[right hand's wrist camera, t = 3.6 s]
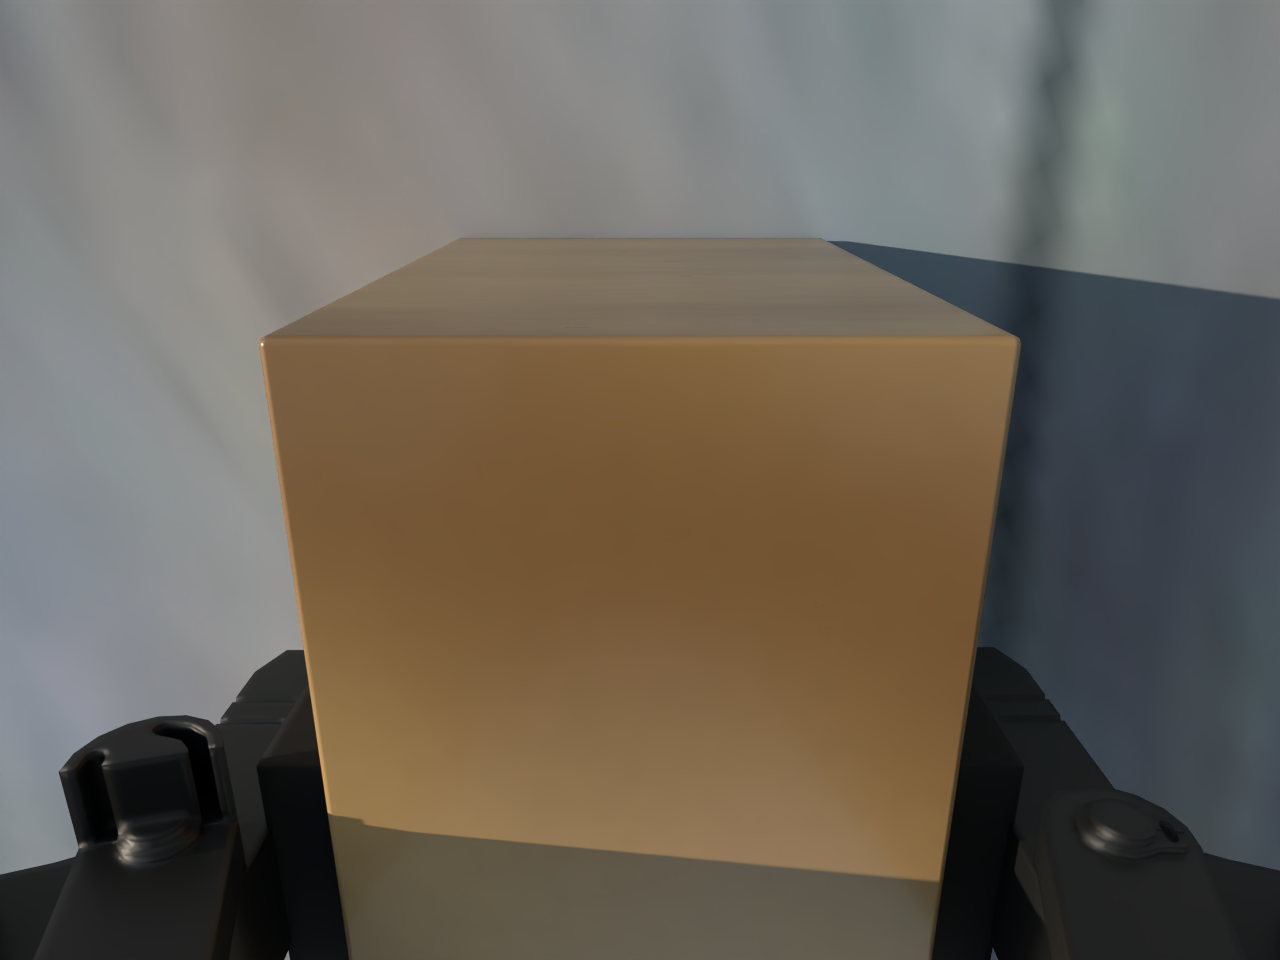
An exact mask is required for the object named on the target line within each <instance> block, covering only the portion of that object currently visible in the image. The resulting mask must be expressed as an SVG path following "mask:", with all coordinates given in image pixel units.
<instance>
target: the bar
mask: <svg viewBox="0 0 1280 960" xmlns="http://www.w3.org/2000/svg"><path fill="white" fill-rule="evenodd" d="M259 347H260V354H261V361H262V367H263V374H264V381H265V388H266V395H267V401H268V408H269V415H270V422H271V429H272V436H273V442H274V449H275V456H276V463H277V470H278V477H279V483H280V490H281V497H282V504H283V511H284V517H285V524H286V531H287V538H288V545H289V552H290V558H291V565H292V572H293V579H294V586H295V593H296V599H297V606H298V613H299V620H300V627H301V634H302V640H303V647H304V654H305V661H306V668H307V674H308V681H309V688H310V695H311V702H312V709H313V715H314V722H315V729H316V736H317V743H318V750H319V756H320V763H321V770H322V777H323V784H324V791H325V797H326V804H327V811H328V818H329V825H330V831H331V838H332V845H333V852H334V859H335V866H336V872H337V879H338V886H339V893H340V900H341V907H342V913H343V920H344V927H345V934H346V941H347V947H348V954H349V960H931V958H932V952H933V945H934V938H935V931H936V924H937V917H938V911H939V904H940V897H941V890H942V883H943V877H944V870H945V863H946V856H947V849H948V842H949V836H950V829H951V822H952V815H953V808H954V801H955V795H956V788H957V781H958V774H959V767H960V760H961V754H962V747H963V740H964V733H965V726H966V719H967V713H968V706H969V699H970V692H971V685H972V678H973V672H974V665H975V658H976V651H977V644H978V638H979V631H980V624H981V617H982V610H983V603H984V597H985V590H986V583H987V576H988V569H989V562H990V556H991V549H992V542H993V535H994V528H995V521H996V515H997V508H998V501H999V494H1000V487H1001V480H1002V474H1003V467H1004V460H1005V453H1006V446H1007V440H1008V433H1009V426H1010V419H1011V412H1012V405H1013V399H1014V392H1015V385H1016V378H1017V371H1018V364H1019V358H1020V351H1021V342H1020V338H1018V337H1016V336H1014V335H1012V334H1010V333H1008V332H1006V331H1004V330H1002V329H1000V328H998V327H996V326H994V325H992V324H990V323H988V322H986V321H984V320H982V319H980V318H978V317H976V316H974V315H973V314H971V313H969V312H967V311H965V310H963V309H961V308H959V307H957V306H955V305H953V304H951V303H949V302H947V301H945V300H943V299H941V298H939V297H937V296H935V295H933V294H931V293H929V292H927V291H925V290H923V289H921V288H919V287H917V286H915V285H913V284H911V283H909V282H907V281H905V280H903V279H901V278H899V277H897V276H895V275H893V274H891V273H889V272H887V271H885V270H883V269H881V268H879V267H877V266H875V265H873V264H871V263H869V262H867V261H865V260H863V259H861V258H859V257H857V256H855V255H853V254H851V253H849V252H847V251H845V250H843V249H841V248H839V247H837V246H835V245H833V244H831V243H829V242H827V241H825V240H823V239H821V238H460V239H457V240H455V241H453V242H451V243H449V244H447V245H445V246H443V247H441V248H439V249H437V250H435V251H433V252H431V253H429V254H427V255H425V256H423V257H422V258H420V259H418V260H416V261H414V262H412V263H410V264H408V265H406V266H404V267H402V268H400V269H398V270H396V271H394V272H392V273H390V274H388V275H386V276H384V277H382V278H380V279H378V280H376V281H374V282H372V283H370V284H368V285H366V286H364V287H362V288H360V289H358V290H356V291H354V292H352V293H350V294H348V295H346V296H344V297H342V298H340V299H338V300H336V301H334V302H332V303H330V304H328V305H326V306H324V307H322V308H320V309H318V310H316V311H314V312H312V313H310V314H308V315H306V316H304V317H302V318H300V319H298V320H296V321H294V322H292V323H290V324H288V325H286V326H284V327H282V328H280V329H278V330H276V331H274V332H272V333H270V334H268V335H266V336H264V337H262V338H261V340H260V344H259Z"/></svg>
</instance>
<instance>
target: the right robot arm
mask: <svg viewBox="0 0 1280 960" xmlns="http://www.w3.org/2000/svg"><path fill="white" fill-rule="evenodd" d="M59 775H60V779H61V782H62V786H63V790H64V794H65V797H66V801H67V805H68V809H69V812H70V816H71V820H72V824H73V827H74V831H75V835H76V839H77V842H78V846H79V850H78V852H77V855H76V857H73V858H69V859H66V860H62V861H59V862H55V863H51V864H47V865H42V866H38V867H33V868H28V869H24V870H19V871H15V872H10V873H6V874H1V875H0V960H284V959H285V957H286V954H287V952H288V950H289V956H290V960H349V954H348V947H347V941H346V934H345V927H344V920H343V913H342V907H341V900H340V893H339V886H338V879H337V872H336V866H335V859H334V852H333V845H332V838H331V831H330V825H329V818H328V811H327V804H326V797H325V791H324V784H323V777H322V770H321V763H320V756H319V750H318V743H317V736H316V729H315V722H314V715H313V709H312V702H311V695H310V688H309V681H308V674H307V668H306V661H305V654H304V650H287V651H285V652H284V653H282V654H281V655H279V656H278V657H276V658H275V659H273V660H272V661H270V662H269V663H267V664H266V665H265V666H263V667H262V668H260V669H259V670H257V671H256V672H255V673H254V674H253V675H252V677H251V678H250V679H249V681H248V682H247V684H246V685H245V686H244V688H243V689H242V690H241V692H240V693H239V694H238V696H237V697H236V702H233V703H232V704H231V705H230V707H229V708H228V709H227V711H226V712H225V714H224V715H223V716H222V718H221V723H220V724H216V726H215V725H214V724H212V723H211V722H210V721H209V720H205V719H200V718H196V717H192V716H187V715H183V716H161V717H155V718H150V719H146V720H142V721H138V722H134V723H130V724H126V725H124V726H122V727H119V728H117V729H115V730H113V731H110V732H108V733H106V734H103V735H101V736H99V737H97V738H96V739H94V740H93V741H91V742H90V743H88V744H87V745H85V746H84V747H82V748H81V749H80V750H78V751H77V752H75V753H74V754H73V755H72V756H71V758H70V759H69V760H68V761H67V763H66V764H65V765H64V766H63V767H62V769H61V770H60V771H59ZM992 948H993V949H994V951H995V953H996V955H997V958H998V960H1280V871H1278V870H1274V869H1269V868H1265V867H1260V866H1256V865H1251V864H1247V863H1242V862H1238V861H1233V860H1229V859H1225V858H1221V857H1218V856H1214V855H1211V854H1207V853H1204V852H1203V850H1202V848H1201V846H1200V845H1199V843H1198V842H1197V840H1196V839H1195V838H1194V836H1193V835H1192V833H1191V832H1190V830H1189V829H1188V827H1186V826H1185V825H1184V824H1183V823H1181V822H1180V821H1179V820H1178V819H1176V818H1175V817H1174V816H1173V815H1171V814H1170V813H1169V812H1168V811H1166V810H1165V809H1163V808H1161V807H1159V806H1157V805H1155V804H1153V803H1151V802H1149V801H1147V800H1145V799H1143V798H1141V797H1139V796H1137V795H1134V794H1130V793H1127V792H1123V791H1119V790H1116V789H1114V787H1113V786H1112V785H1111V783H1110V782H1109V781H1108V779H1107V778H1106V777H1105V775H1104V774H1103V772H1102V771H1101V770H1100V768H1099V767H1098V766H1097V764H1096V763H1095V762H1094V760H1093V759H1092V758H1091V756H1090V755H1089V754H1088V752H1087V751H1086V749H1085V748H1084V747H1083V745H1082V744H1081V743H1080V741H1079V740H1078V739H1077V737H1076V736H1075V735H1074V733H1073V732H1072V731H1071V729H1070V728H1069V726H1068V725H1067V724H1066V722H1065V721H1061V719H1060V714H1059V713H1058V712H1057V710H1056V709H1055V708H1054V706H1053V705H1052V703H1051V702H1050V701H1049V699H1045V694H1044V693H1043V691H1042V690H1041V689H1040V687H1039V686H1038V685H1037V683H1036V682H1035V680H1034V679H1033V678H1032V676H1031V675H1030V674H1029V672H1028V671H1027V670H1026V669H1025V668H1024V667H1022V666H1021V665H1019V664H1018V663H1016V662H1015V661H1013V660H1012V659H1010V658H1009V657H1007V656H1006V655H1004V654H1003V653H1002V652H1000V651H999V650H997V649H996V648H994V647H977V651H976V658H975V665H974V672H973V678H972V685H971V692H970V699H969V706H968V713H967V719H966V726H965V733H964V740H963V747H962V754H961V760H960V767H959V774H958V781H957V788H956V795H955V801H954V808H953V815H952V822H951V829H950V836H949V842H948V849H947V856H946V863H945V870H944V877H943V883H942V890H941V897H940V904H939V911H938V917H937V924H936V931H935V938H934V945H933V952H932V958H931V960H990V959H991V953H992Z"/></svg>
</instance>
